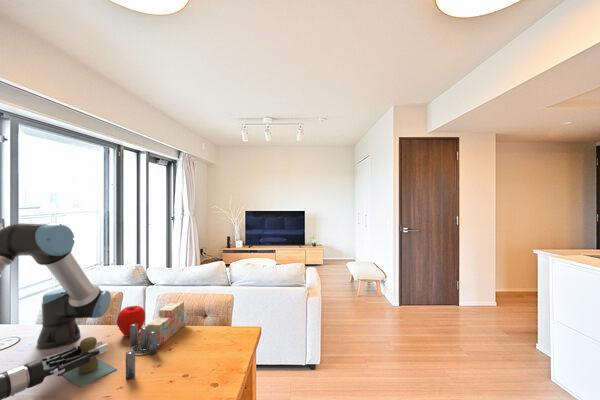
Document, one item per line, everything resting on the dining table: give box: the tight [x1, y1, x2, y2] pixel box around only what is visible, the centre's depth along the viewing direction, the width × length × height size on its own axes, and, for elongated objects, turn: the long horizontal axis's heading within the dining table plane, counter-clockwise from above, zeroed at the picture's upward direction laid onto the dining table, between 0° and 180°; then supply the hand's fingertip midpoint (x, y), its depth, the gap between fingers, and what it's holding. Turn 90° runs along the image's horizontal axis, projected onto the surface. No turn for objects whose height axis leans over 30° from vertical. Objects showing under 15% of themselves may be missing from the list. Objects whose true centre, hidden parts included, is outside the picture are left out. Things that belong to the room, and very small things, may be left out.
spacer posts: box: [125, 323, 158, 381], centre depth 118 cm, size 25×18×9 cm
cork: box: [78, 336, 98, 373], centre depth 109 cm, size 6×6×11 cm
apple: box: [116, 305, 146, 337], centre depth 139 cm, size 12×12×13 cm
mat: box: [62, 357, 118, 388], centre depth 109 cm, size 16×12×1 cm
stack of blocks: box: [146, 301, 185, 345], centre depth 140 cm, size 21×6×12 cm, turn 174°
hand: (103, 345), depth 114 cm, fingers closed on cork, 4 cm apart
